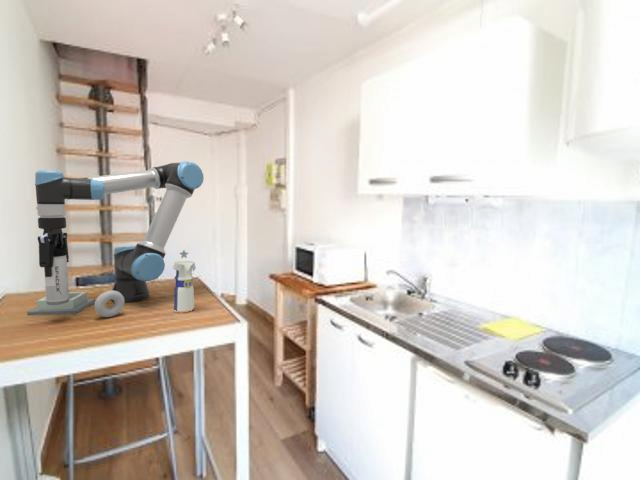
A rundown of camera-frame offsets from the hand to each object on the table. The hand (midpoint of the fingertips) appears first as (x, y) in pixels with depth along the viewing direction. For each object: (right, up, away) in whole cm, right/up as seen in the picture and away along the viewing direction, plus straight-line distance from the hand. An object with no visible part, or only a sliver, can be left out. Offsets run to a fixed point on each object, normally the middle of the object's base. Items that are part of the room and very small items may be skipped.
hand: (56, 283), depth 118 cm
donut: (+14, -14, +7) cm, 21 cm away
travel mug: (0, -7, +1) cm, 7 cm away
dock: (-9, -12, +16) cm, 21 cm away
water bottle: (+37, -13, +19) cm, 44 cm away
